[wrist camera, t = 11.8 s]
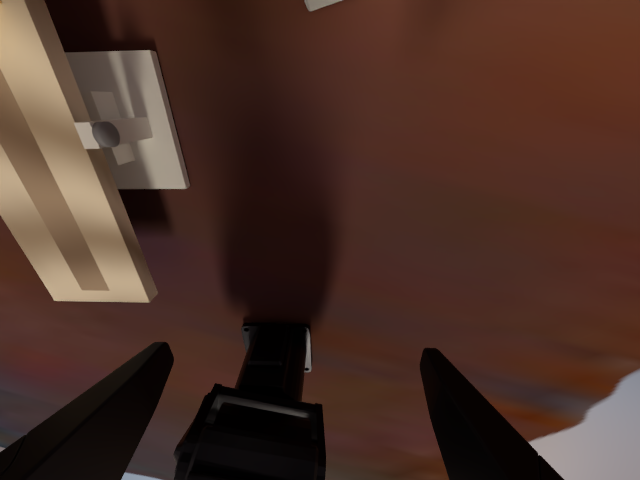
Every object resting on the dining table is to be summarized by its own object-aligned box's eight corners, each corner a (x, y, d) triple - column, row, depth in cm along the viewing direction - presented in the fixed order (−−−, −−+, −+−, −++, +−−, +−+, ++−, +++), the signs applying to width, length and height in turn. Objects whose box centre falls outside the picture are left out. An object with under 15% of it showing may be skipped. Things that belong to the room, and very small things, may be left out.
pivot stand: (190, 186, 19) (146, 212, 15) (33, 186, 20) (-57, 212, 15) (156, 51, 15) (82, 31, 11) (-38, 57, 16) (-184, 40, 11)
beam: (157, 293, 19) (149, 302, 18) (67, 291, 20) (54, 300, 19) (-38, -211, 9) (-78, -245, 8) (-222, -197, 9) (-281, -229, 8)
